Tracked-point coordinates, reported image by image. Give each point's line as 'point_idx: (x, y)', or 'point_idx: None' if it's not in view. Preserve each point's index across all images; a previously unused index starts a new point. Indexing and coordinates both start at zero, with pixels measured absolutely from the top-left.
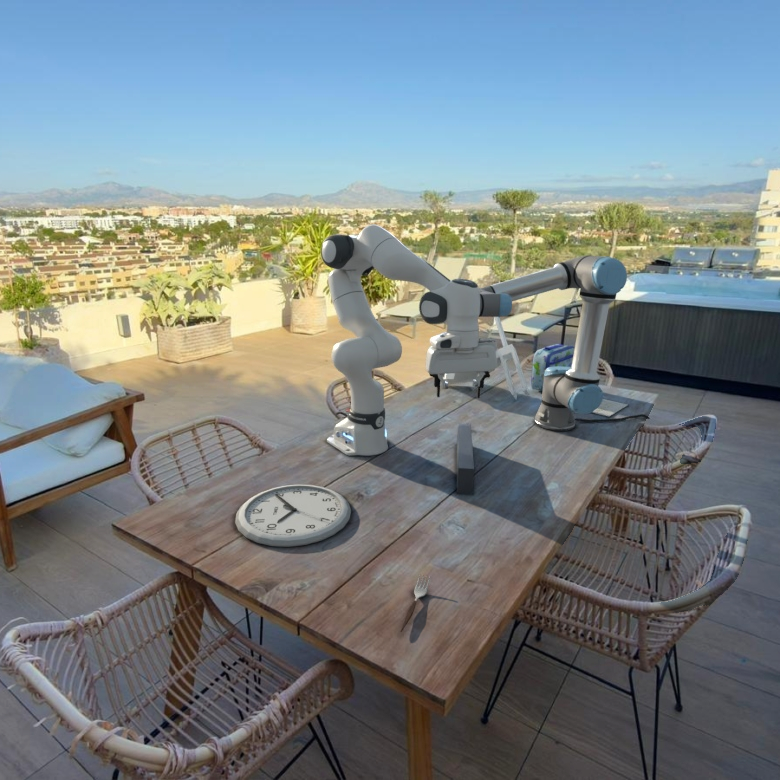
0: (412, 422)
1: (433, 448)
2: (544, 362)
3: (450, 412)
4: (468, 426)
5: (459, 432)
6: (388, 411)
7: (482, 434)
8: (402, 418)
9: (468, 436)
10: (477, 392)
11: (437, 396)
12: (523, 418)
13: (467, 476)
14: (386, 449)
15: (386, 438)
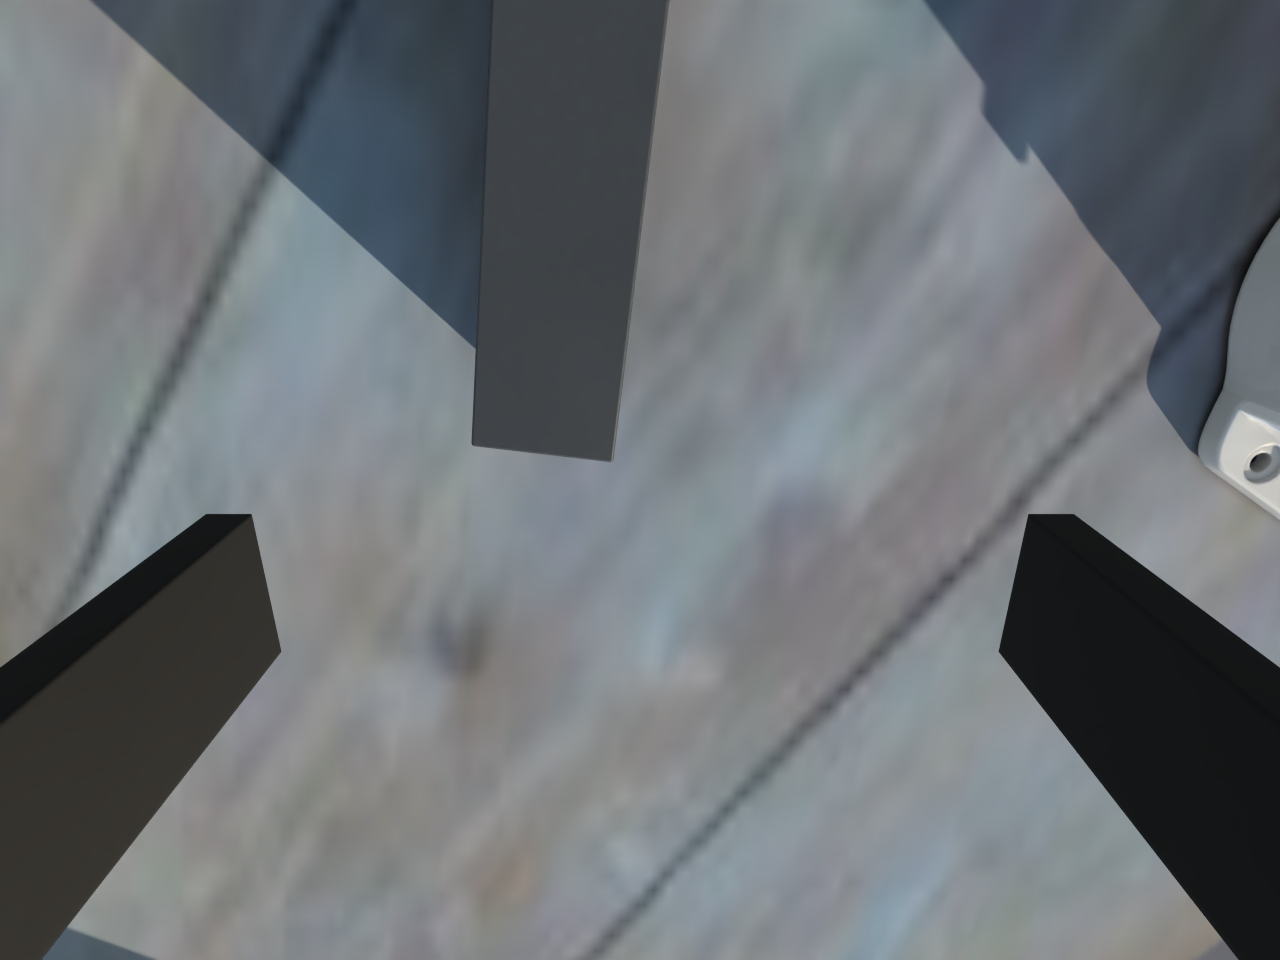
0: (902, 787)
1: (833, 299)
2: None
3: (594, 950)
4: (502, 362)
5: (632, 154)
6: (1033, 950)
7: (385, 596)
8: (961, 848)
9: (532, 5)
10: (201, 607)
11: (1079, 522)
12: None
13: None
14: (1276, 230)
15: (1226, 439)
